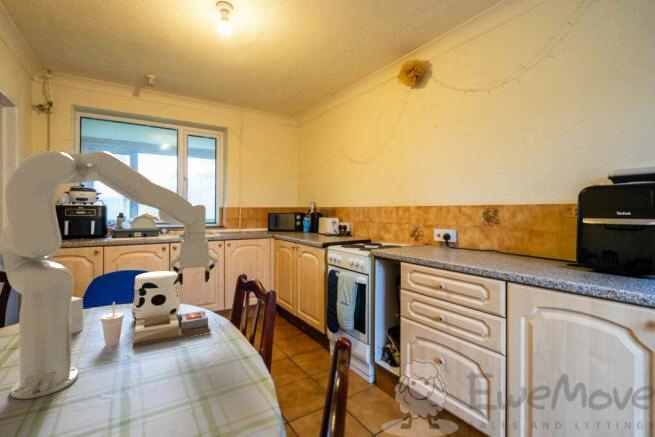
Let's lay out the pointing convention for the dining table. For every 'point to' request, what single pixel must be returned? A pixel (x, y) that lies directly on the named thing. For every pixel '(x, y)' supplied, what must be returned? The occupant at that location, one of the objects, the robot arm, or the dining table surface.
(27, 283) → the robot arm
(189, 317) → the button
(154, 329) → the wooden tray with button
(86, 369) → the dining table surface
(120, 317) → the smoothie
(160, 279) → the milk container
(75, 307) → the skincare box
